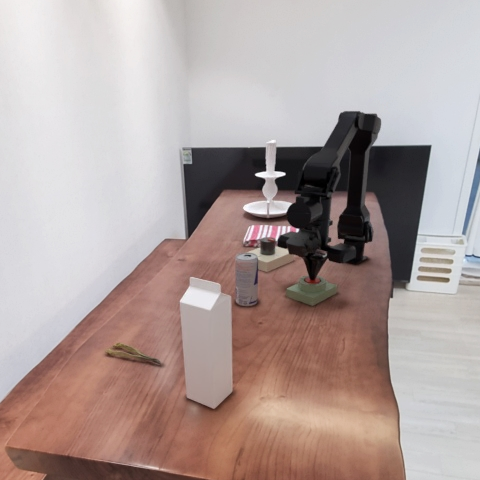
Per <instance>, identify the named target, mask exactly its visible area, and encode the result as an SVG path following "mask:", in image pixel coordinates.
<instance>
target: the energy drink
mask: <svg viewBox="0 0 480 480" xmlns="http://www.w3.org/2000/svg"><path fill="white" fill-rule="evenodd" d="M234 262H235V263H234V264H235V265H234V270H235V273H234V274H235V277H234V279H235V303H236V304H237V305H238V306H241V307H252V306H255V305H256V304H257V303H258V298H259V297H258V296H259V295H258V293H259V270H258V258H257V255H256V254H254V253H246V252H241V253H238V254H236V255H235V260H234Z"/></svg>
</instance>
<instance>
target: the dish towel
mask: <svg viewBox="0 0 480 480" xmlns="http://www.w3.org/2000/svg"><path fill="white" fill-rule="evenodd" d="M290 231H293V232H298V231H299V229H297V228H294V227H292V226H291V225H277V226H276V225H268V224H257V225H256V224H255V225H253V224H252V225H249V226H248V228H247V231H246V233H245V234H244V238H243V241H242V242H243V243H242V245H243V246H244V247H257V248H260V239H261V238H265V237H272V238H275V239H276V247H278V246H277V240H278V238H279V236H280V235H282V234H285V233H288V232H290Z"/></svg>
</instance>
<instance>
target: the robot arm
mask: <svg viewBox="0 0 480 480" xmlns="http://www.w3.org/2000/svg"><path fill="white" fill-rule="evenodd" d="M381 128H382V119H381V117H379V116H378V114H377V113H365V112H363V111H360V110H344V111H342V112H340V113H339V115H338V119H337V122H336V124H335V126H334V127H333V129H332V130H331V133H330V135H328V138H327V140H326V142H325V143H324V144H323V146H322V148H321V150H319V151H318V152H315V153H313V154H312V155H311V156H310V157H309V158H308V159H307V161H306V162H305V163H304V165H303V166H302V168H301V172H300V174H299V177H298V180H297V184H296V185H295V188H294V189H295V190H294V195H296V196H295V202H293V203H292V204H291V205H290V206H289V208H288V210H287V212H286V215H285V217H286V221H287V222H288V224H289V226H292V227H294V228H297V229H299V231H298V232H293V231H290V232H288V233H285V234H282V235H280V236H279V238H278V240H277V246H278V247H280V248H284V249H287V250H288V252H289V254H291V255H292V254H293V255H294V256H297V257H298V258H301V259H302V260H303V262H304V265H305V269H306V272H307V276H308V275H309V278H310V280H315V279H316V277H317V276H319V273H320V272H321V270H322V268H323V267H324V265H325V263H326V262H327V260H328V261H329V262H332V263H336V264H344V263H349V264H352V265H358V264H361V263H363V262H365V261H367V260H369V256H366V255H364V254H365V248H366V247H365V246H366V244H368V243H372V242H373V239H374V232H375V231H374V229H373V228H374V227H373V225H372V222H371V212H370V210H369V209H368V207H367V206H366V194H367V185H368V184H367V182H368V173H369V160H370V159H369V158H370V150H371V149H372V146H373V145H374V144H375V143H376V142H377V140H378V136H379V133H380V132H381ZM347 150H349V162H348V163H349V166H348V177H347V192H346V193H347V194H346V196H347V197H346V206H345V208H344V209H343V211H342V212H341V214H339V216H338V221H337V224H336V230H337V232H336V233H337V239H338V240H343V242H339V243H337V244H335V245H331V244H329V243H331V242H332V237H330V236H329V232H330V226H333V224H334V220H333V219H331V211H332V198H333V197H332V196H333V195H334V193H335V190H336V188H337V186H338V183H339V181H340V179H341V175H342V174H341V167H340V163H341V160H342V158H343V157H344V156H345V153H346V152H347Z"/></svg>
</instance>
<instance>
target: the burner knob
mask: <svg viewBox="0 0 480 480" xmlns="http://www.w3.org/2000/svg"><path fill="white" fill-rule="evenodd" d="M275 247H276V239H275V238H272V237H265V238H261V239H260V247H259V248H260V253H261V254H262V255H273V254H275Z"/></svg>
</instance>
